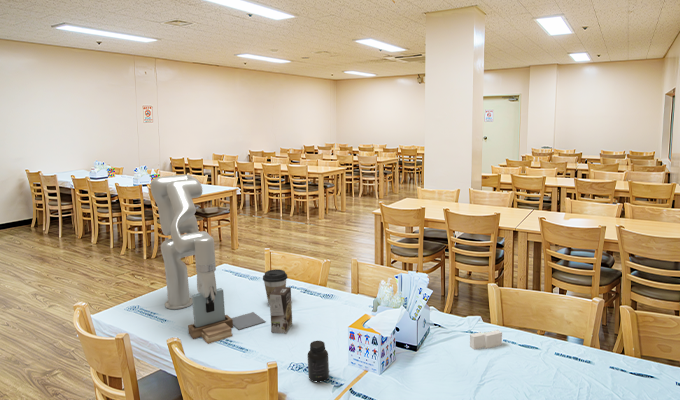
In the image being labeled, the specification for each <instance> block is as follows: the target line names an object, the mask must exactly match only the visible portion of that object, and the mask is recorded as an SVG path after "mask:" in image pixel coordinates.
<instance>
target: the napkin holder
mask: <svg viewBox="0 0 680 400" xmlns="http://www.w3.org/2000/svg"><path fill="white" fill-rule="evenodd" d="M502 342H503V332H502V331H501V330H499V329H495V330H492V331H487V332H486V331H484V332H483V333H482V332H481V331H478V332H475V333H470V334H469V347H470V348H471V349H472V350H478V349H482V348H485V349H489V348H490V349H491V348H494V347H498V346H502V345H503V343H502Z"/></svg>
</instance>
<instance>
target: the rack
mask: <svg viewBox="0 0 680 400" xmlns="http://www.w3.org/2000/svg"><path fill="white" fill-rule="evenodd" d="M231 318H232V317H230V316H229V315H228V314H225V320H222V321H218V322H215V323H211V324H208V325H204V326H201V327H197V328H196V327H195V326H194V323H191V324H189V325H187V332H188V335H189V336H190V337H191V338H192V339H193V340H196V339H199V338H202V337H201V335H202V329H205V328H209V327H212V326H216V325H219V324H222V323H226V324H227V325H228V326H229V327H230V328H231V329H233V328H234V326H233V320H232V319H231Z"/></svg>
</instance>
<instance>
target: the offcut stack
mask: <svg viewBox="0 0 680 400" xmlns="http://www.w3.org/2000/svg"><path fill="white" fill-rule="evenodd" d="M232 329H233V328H230V327H229V326H228V325H227V324H226V323H222V324H219V325H216V326H212V327H209V328H205V329H202V335H201V337H200V338H202V340H204V341H205V343H207V344H208V345H209V344H212V343H215V342H219V341H222V340H225V339H228V338H231V337H233V333H232V332H233V331H232Z"/></svg>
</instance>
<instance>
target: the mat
mask: <svg viewBox="0 0 680 400" xmlns="http://www.w3.org/2000/svg"><path fill="white" fill-rule="evenodd" d="M230 318H231V319H232V320H233V328H234V327H235V329H236V330H237V331H241V330H245V329H249V328H252V327H255V326H258V325H262V324H265V323H266V322H267V321H266V320H264V318H262V317H260V315H258V314H257V313H255V312H254V311H252V312H249V313H248V312H247V313H245V314H240V315H239V316H238V315H237V316H235V317H230Z"/></svg>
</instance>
